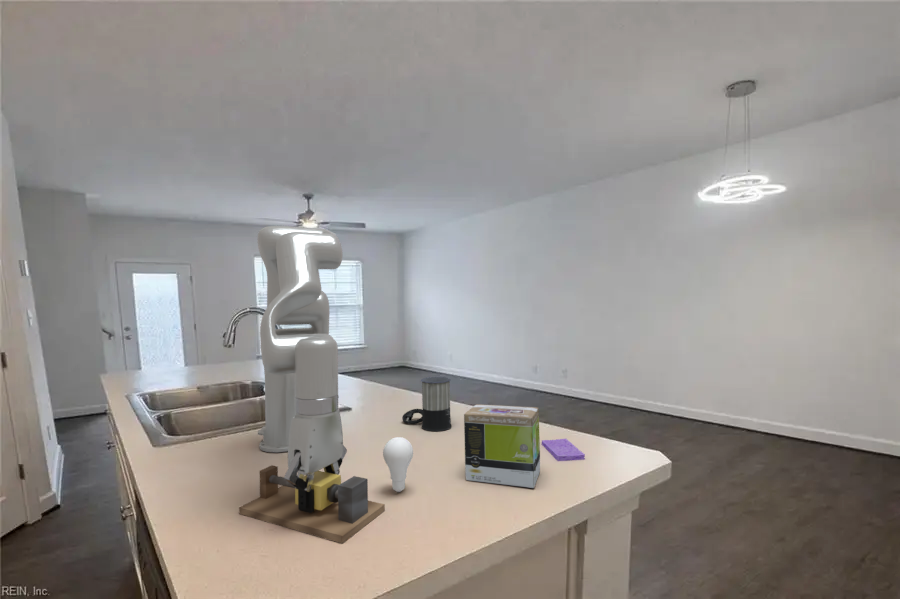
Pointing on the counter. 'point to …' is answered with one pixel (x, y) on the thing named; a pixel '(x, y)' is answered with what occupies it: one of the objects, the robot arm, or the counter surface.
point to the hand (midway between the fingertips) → (318, 502)
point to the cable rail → (328, 523)
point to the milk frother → (433, 405)
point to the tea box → (502, 445)
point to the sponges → (563, 450)
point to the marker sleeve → (321, 488)
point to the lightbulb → (398, 460)
